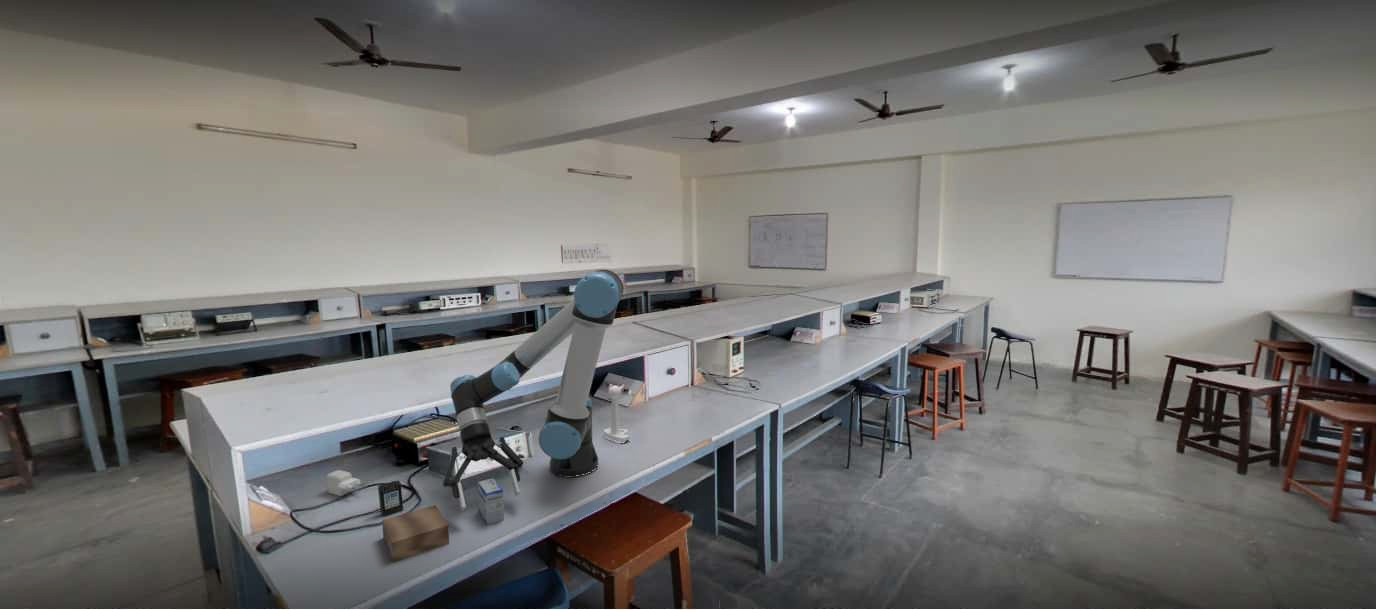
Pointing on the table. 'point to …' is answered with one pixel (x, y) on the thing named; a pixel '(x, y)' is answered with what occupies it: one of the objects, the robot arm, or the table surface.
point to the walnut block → (415, 532)
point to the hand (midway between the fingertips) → (491, 501)
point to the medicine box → (490, 501)
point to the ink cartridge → (390, 498)
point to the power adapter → (341, 483)
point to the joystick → (615, 418)
